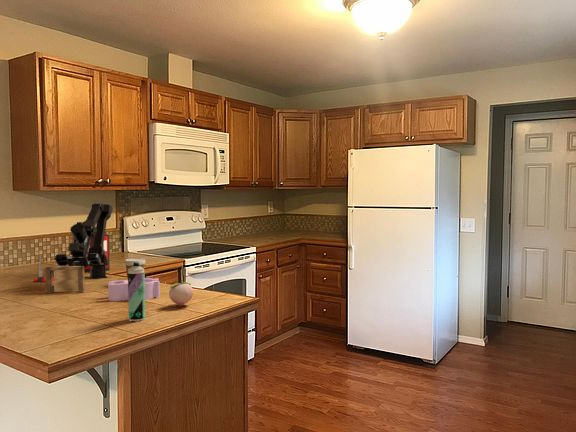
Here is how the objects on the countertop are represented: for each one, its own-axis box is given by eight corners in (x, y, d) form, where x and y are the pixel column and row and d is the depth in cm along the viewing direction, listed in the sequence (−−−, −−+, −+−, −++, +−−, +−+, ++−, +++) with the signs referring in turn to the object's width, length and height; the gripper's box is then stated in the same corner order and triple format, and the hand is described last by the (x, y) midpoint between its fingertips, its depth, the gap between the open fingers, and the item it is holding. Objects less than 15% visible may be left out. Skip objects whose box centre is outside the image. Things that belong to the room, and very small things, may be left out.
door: (51, 291, 202) (51, 270, 202) (53, 290, 204) (52, 269, 204) (79, 290, 205) (78, 268, 205) (80, 289, 207) (79, 268, 207)
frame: (45, 293, 202) (44, 267, 201) (47, 292, 204) (47, 266, 203) (83, 292, 202) (82, 266, 202) (84, 291, 204) (84, 266, 204)
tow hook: (44, 279, 235) (31, 282, 226) (44, 253, 235) (31, 255, 226) (59, 279, 234) (47, 282, 225) (59, 254, 234) (47, 256, 225)
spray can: (130, 317, 164) (129, 261, 163) (146, 317, 164) (145, 260, 163) (126, 321, 159) (125, 263, 157) (143, 321, 159) (142, 263, 158)
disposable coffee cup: (150, 283, 222) (150, 258, 221) (136, 287, 213) (135, 261, 213) (134, 282, 226) (134, 257, 225) (120, 285, 217) (119, 260, 217)
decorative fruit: (181, 310, 174) (180, 283, 173) (165, 307, 178) (165, 281, 178) (198, 304, 182) (198, 279, 181) (183, 302, 186) (182, 277, 186)
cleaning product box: (109, 270, 259) (108, 234, 258) (97, 272, 251) (96, 235, 250) (86, 268, 265) (85, 233, 264) (74, 270, 257) (73, 234, 256)
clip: (108, 303, 185) (107, 286, 185) (109, 296, 197) (108, 280, 196) (160, 299, 192) (160, 282, 191) (158, 293, 203) (158, 277, 203)
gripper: (55, 236, 209) (45, 265, 199) (98, 235, 210) (90, 264, 200) (63, 251, 218) (54, 279, 207) (104, 250, 219) (97, 278, 209)
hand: (73, 275), depth 206 cm, fingers closed
